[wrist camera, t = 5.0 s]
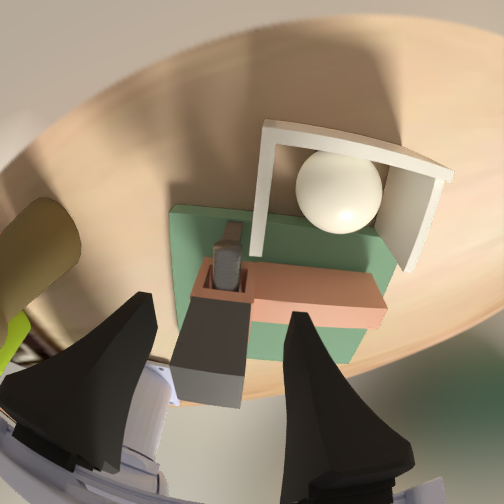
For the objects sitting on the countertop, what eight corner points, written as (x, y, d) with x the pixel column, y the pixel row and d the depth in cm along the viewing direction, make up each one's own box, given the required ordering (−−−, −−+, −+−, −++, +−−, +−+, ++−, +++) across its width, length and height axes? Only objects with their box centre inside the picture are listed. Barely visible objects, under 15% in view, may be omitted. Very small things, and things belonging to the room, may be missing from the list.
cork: (25, 245, 17) (-55, 330, 8) (30, 184, 14) (-81, 267, 5) (75, 281, 18) (2, 387, 9) (87, 222, 16) (-22, 340, 6)
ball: (306, 122, 10) (292, 160, 14) (301, 217, 10) (286, 234, 14) (394, 142, 10) (362, 172, 14) (398, 232, 10) (360, 243, 14)
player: (207, 284, 15) (175, 398, 9) (207, 247, 14) (166, 364, 8) (361, 299, 15) (395, 406, 9) (374, 265, 14) (423, 375, 8)
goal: (254, 211, 15) (248, 262, 10) (264, 118, 12) (262, 127, 8) (380, 228, 15) (416, 279, 10) (402, 146, 12) (454, 171, 8)
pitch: (184, 337, 20) (181, 349, 19) (175, 204, 15) (168, 212, 14) (346, 352, 20) (348, 363, 19) (397, 231, 15) (405, 241, 14)
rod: (219, 354, 19) (212, 393, 16) (223, 217, 14) (210, 252, 11) (235, 357, 19) (230, 395, 16) (247, 220, 14) (241, 256, 11)
